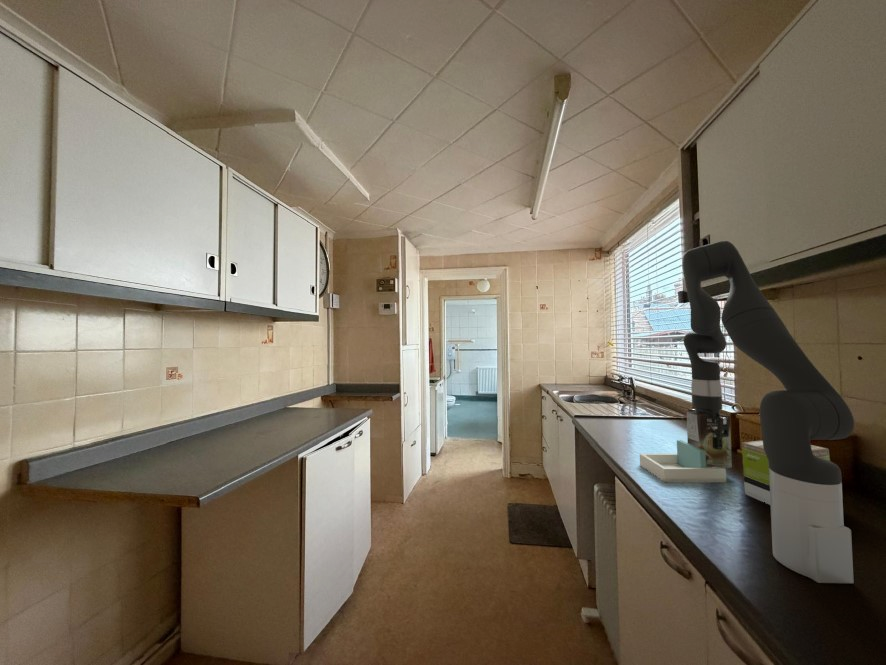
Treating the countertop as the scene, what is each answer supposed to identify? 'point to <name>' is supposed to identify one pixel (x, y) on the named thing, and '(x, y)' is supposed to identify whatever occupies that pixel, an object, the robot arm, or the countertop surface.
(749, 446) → the tea box
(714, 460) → the coffee box
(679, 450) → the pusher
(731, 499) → the countertop surface
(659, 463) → the white rectangular tray
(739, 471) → the countertop surface
